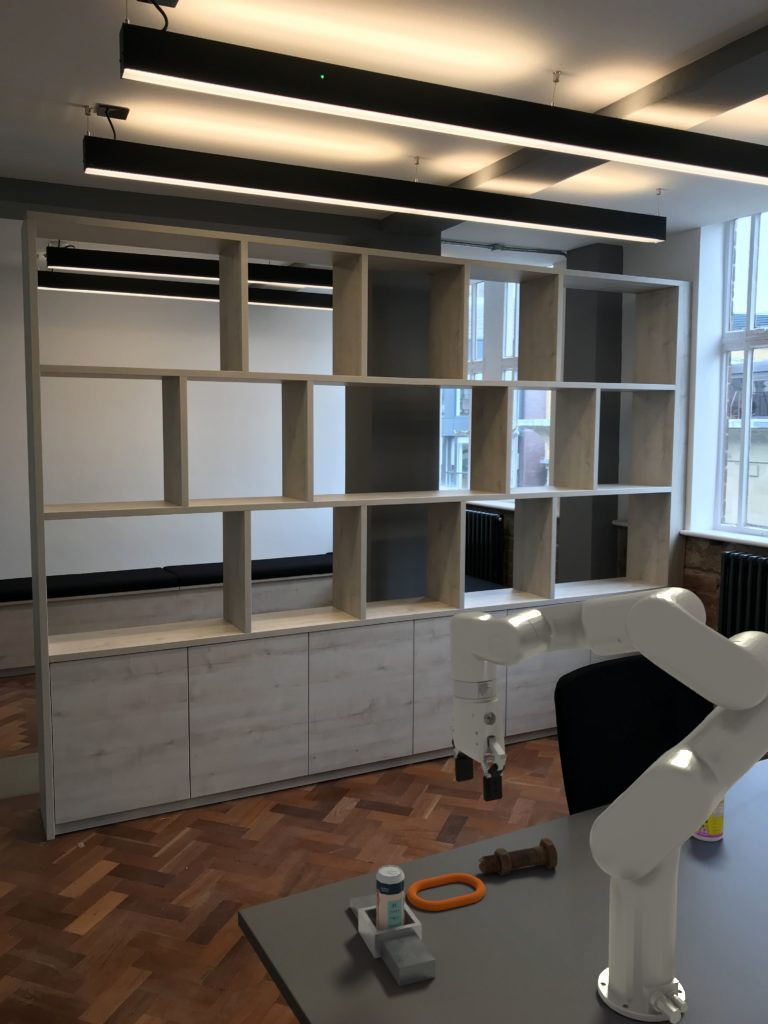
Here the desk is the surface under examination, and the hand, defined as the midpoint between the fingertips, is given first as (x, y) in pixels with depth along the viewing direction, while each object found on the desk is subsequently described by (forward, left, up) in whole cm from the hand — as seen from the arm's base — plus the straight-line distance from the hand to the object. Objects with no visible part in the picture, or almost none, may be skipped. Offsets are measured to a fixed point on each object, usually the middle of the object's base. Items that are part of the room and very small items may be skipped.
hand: (478, 789), depth 143 cm
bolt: (+18, -17, -26) cm, 36 cm away
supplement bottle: (+16, -62, -26) cm, 69 cm away
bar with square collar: (+4, +14, -25) cm, 29 cm away
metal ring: (+14, -1, -26) cm, 29 cm away
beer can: (+4, +14, -25) cm, 29 cm away
